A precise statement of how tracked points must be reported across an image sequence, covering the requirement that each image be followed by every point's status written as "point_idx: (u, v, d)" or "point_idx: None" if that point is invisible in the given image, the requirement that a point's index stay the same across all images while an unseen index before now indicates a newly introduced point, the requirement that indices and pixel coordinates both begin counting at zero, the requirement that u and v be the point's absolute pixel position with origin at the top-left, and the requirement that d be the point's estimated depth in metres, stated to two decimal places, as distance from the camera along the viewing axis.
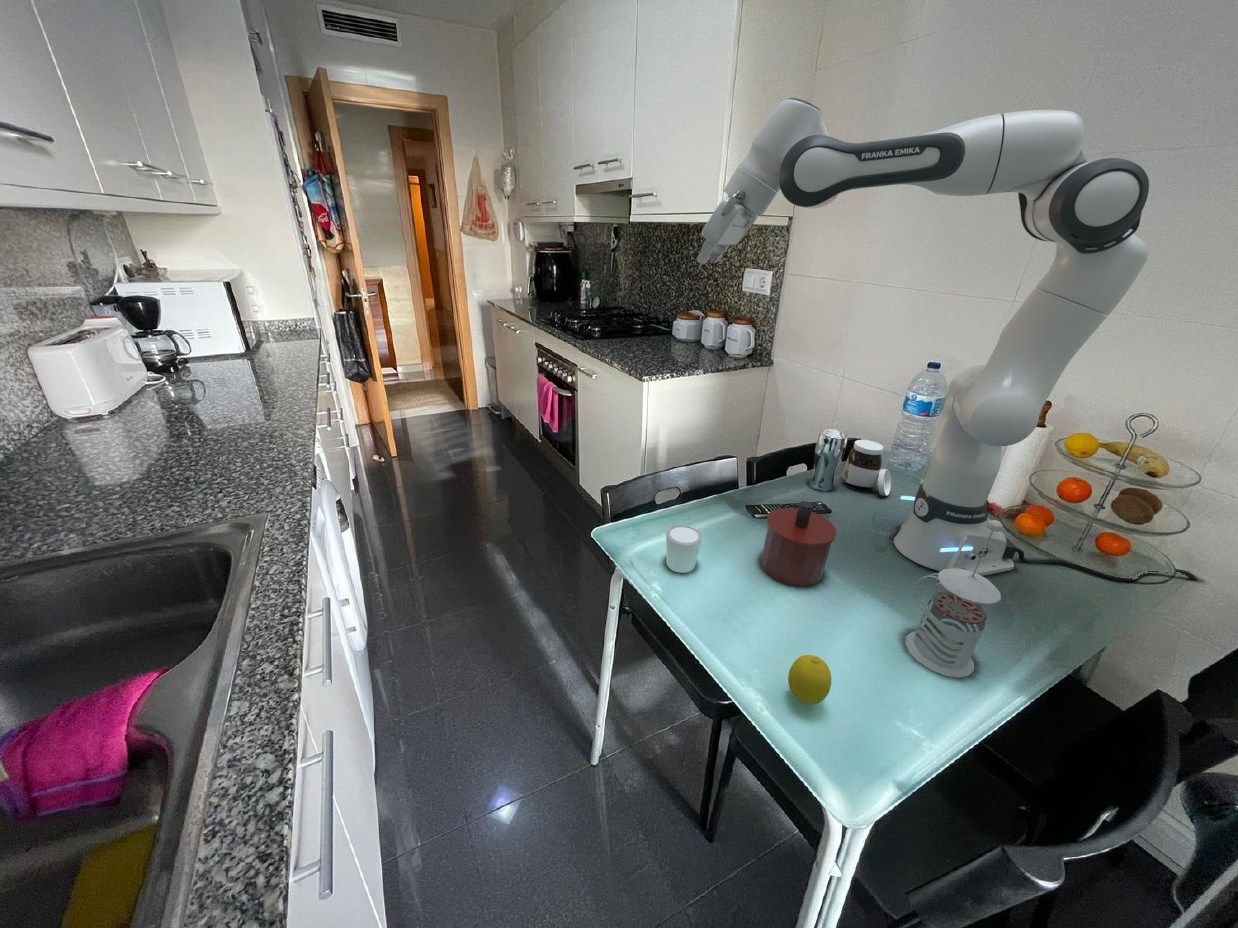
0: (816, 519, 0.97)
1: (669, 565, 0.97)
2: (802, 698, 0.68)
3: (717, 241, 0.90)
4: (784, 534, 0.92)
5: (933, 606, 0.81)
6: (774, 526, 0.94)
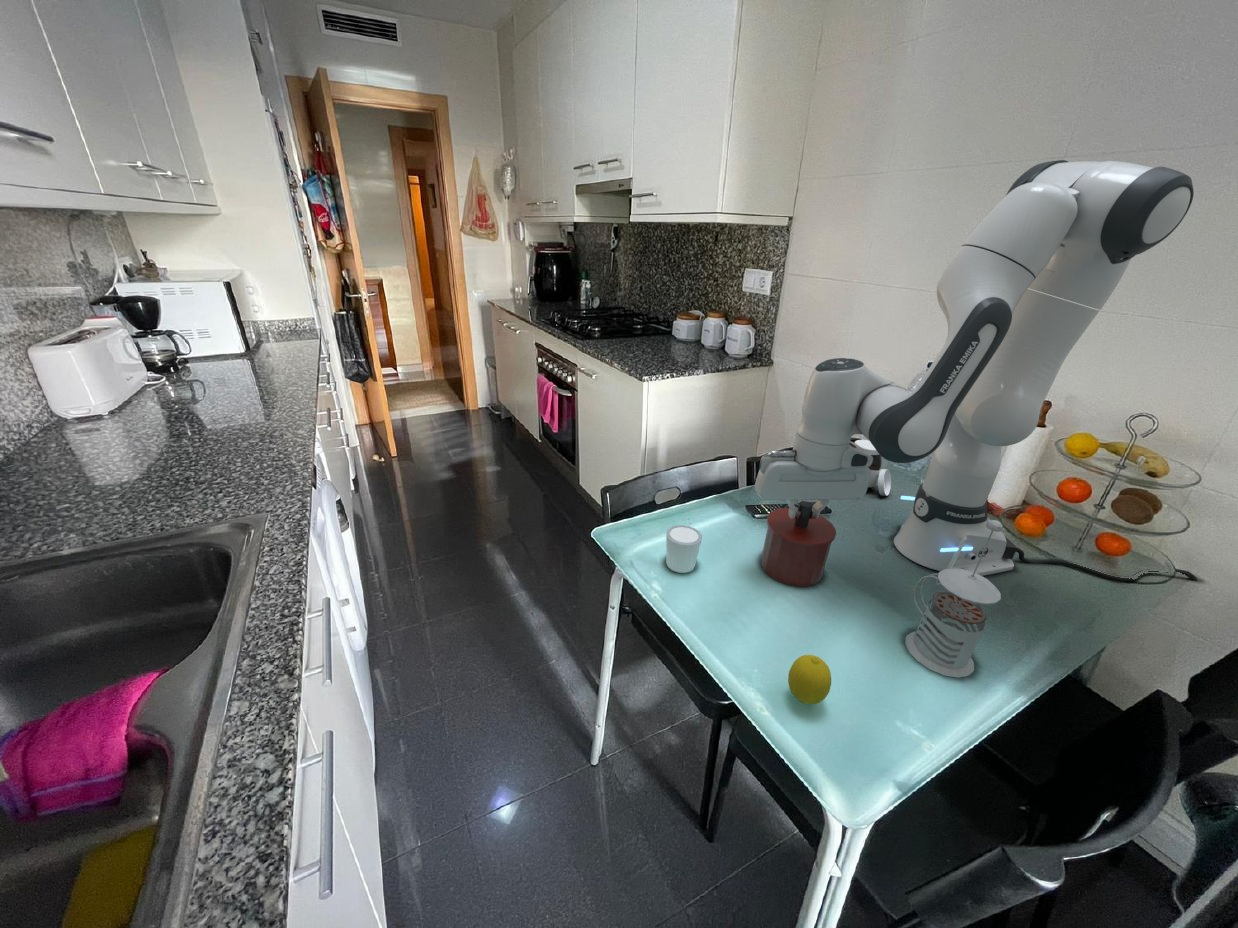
0: (816, 519, 0.97)
1: (669, 565, 0.97)
2: (802, 698, 0.68)
3: (763, 497, 0.89)
4: (784, 534, 0.92)
5: (933, 606, 0.81)
6: (774, 526, 0.94)
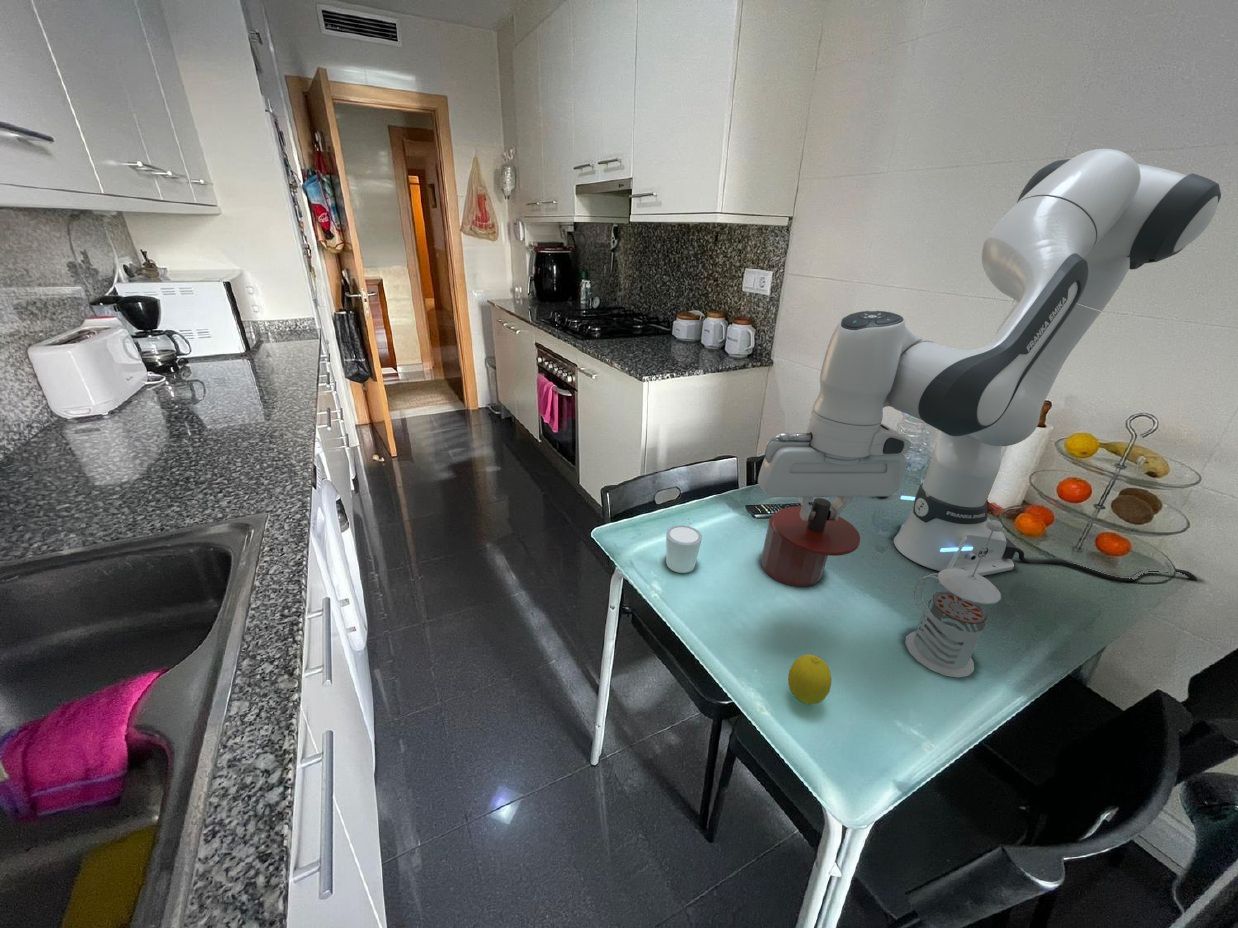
0: (834, 521, 0.78)
1: (669, 565, 0.97)
2: (802, 698, 0.68)
3: (768, 492, 0.70)
4: (795, 540, 0.72)
5: (933, 606, 0.81)
6: (782, 529, 0.75)
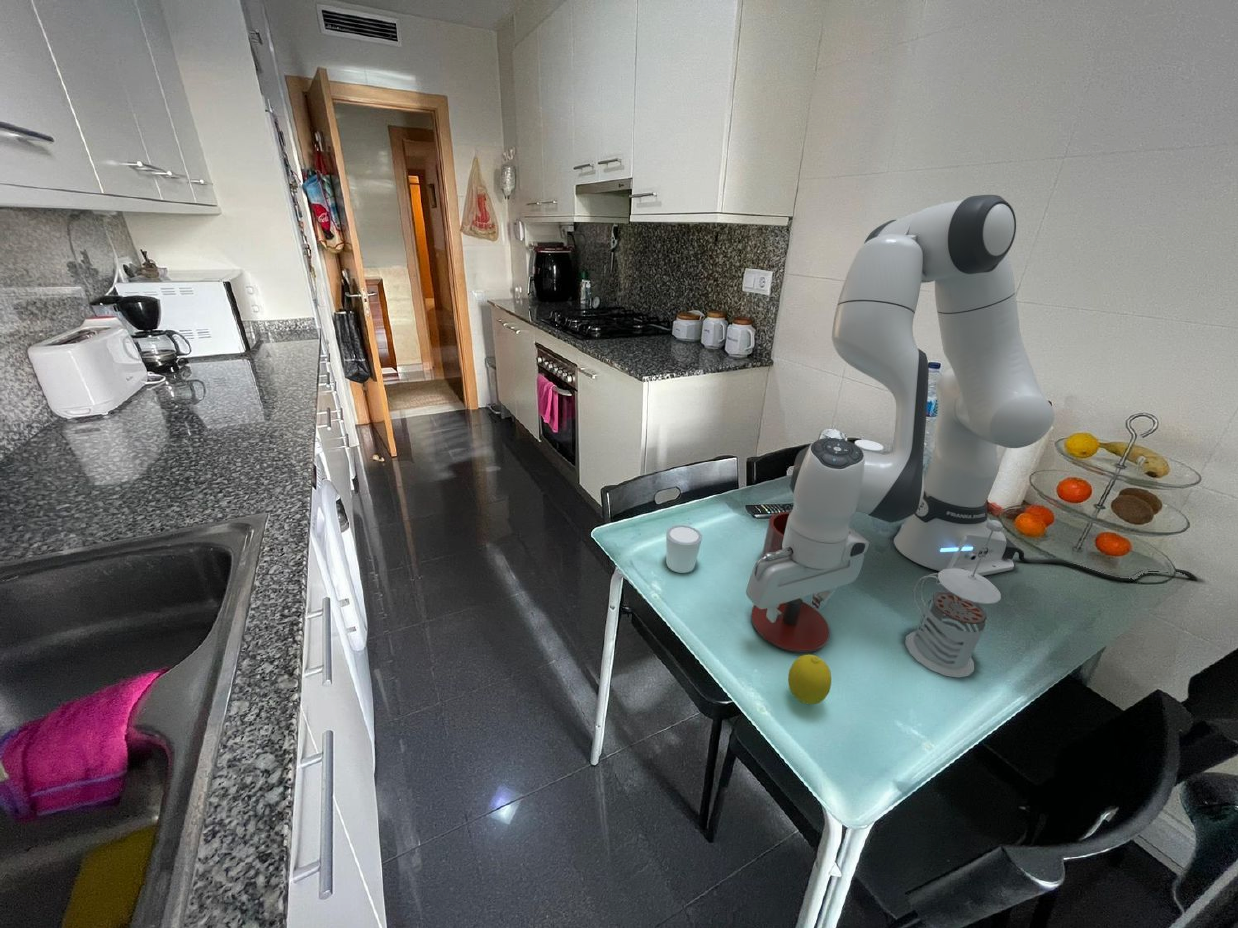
0: (801, 609, 0.87)
1: (669, 565, 0.97)
2: (802, 698, 0.68)
3: (760, 606, 0.75)
4: (780, 641, 0.80)
5: (933, 606, 0.81)
6: (765, 631, 0.81)
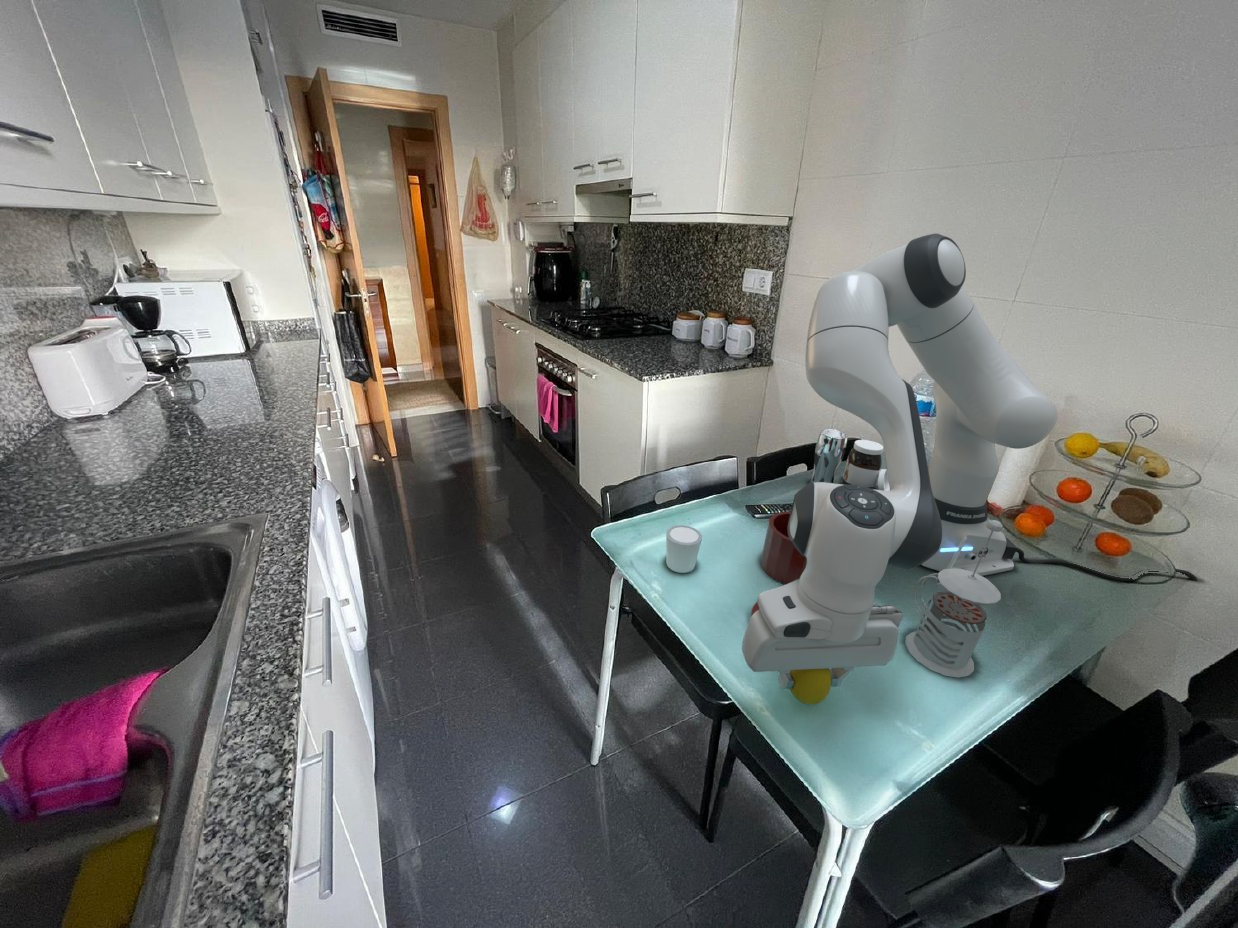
0: None
1: (669, 565, 0.97)
2: (802, 698, 0.68)
3: None
4: None
5: (933, 606, 0.81)
6: None
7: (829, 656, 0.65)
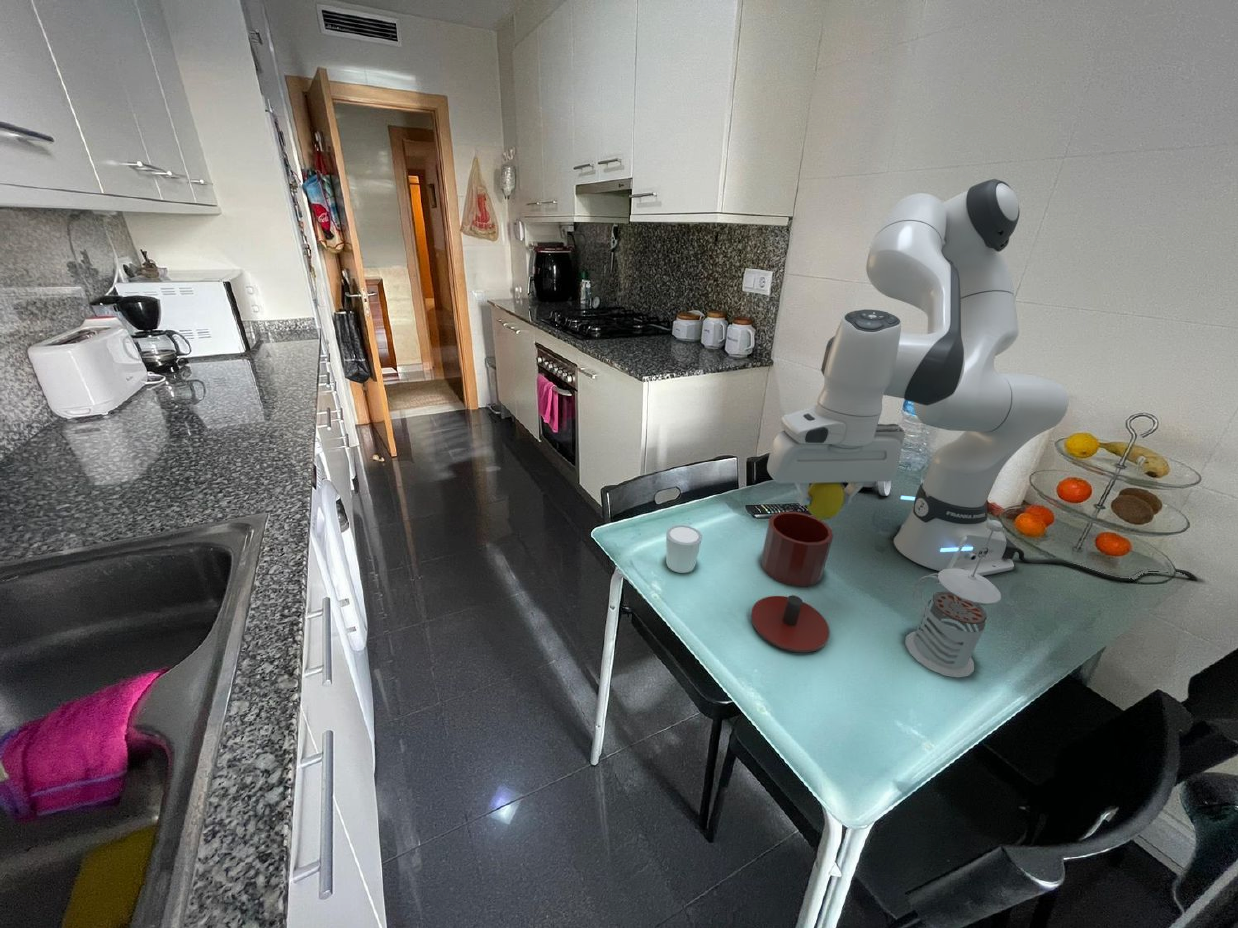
0: (801, 609, 0.87)
1: (669, 565, 0.97)
2: (819, 511, 0.79)
3: None
4: (780, 641, 0.80)
5: (933, 606, 0.81)
6: (765, 631, 0.81)
7: (842, 469, 0.76)
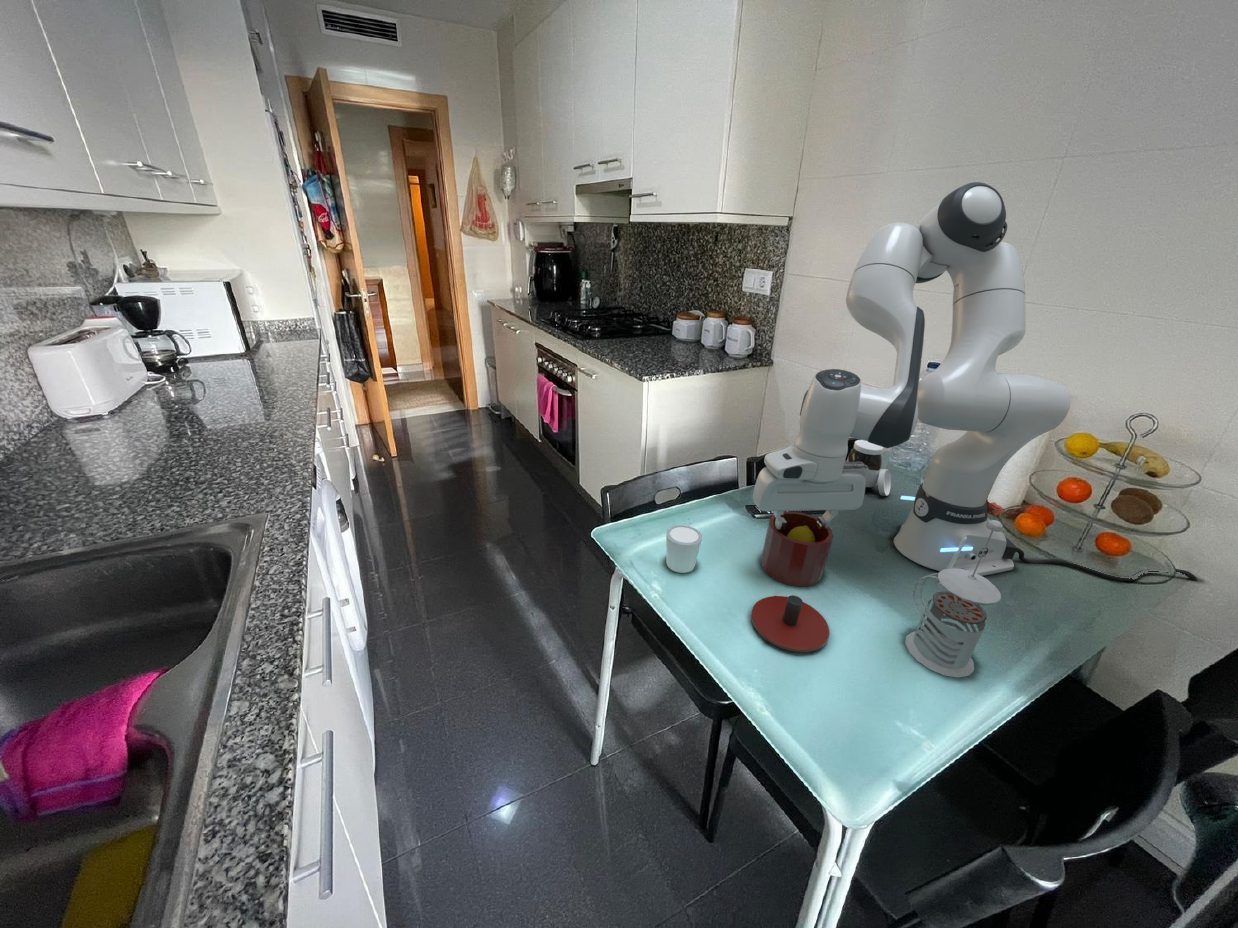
0: (801, 609, 0.87)
1: (669, 565, 0.97)
2: None
3: None
4: (780, 641, 0.80)
5: (933, 606, 0.81)
6: (765, 631, 0.81)
7: (816, 500, 0.91)
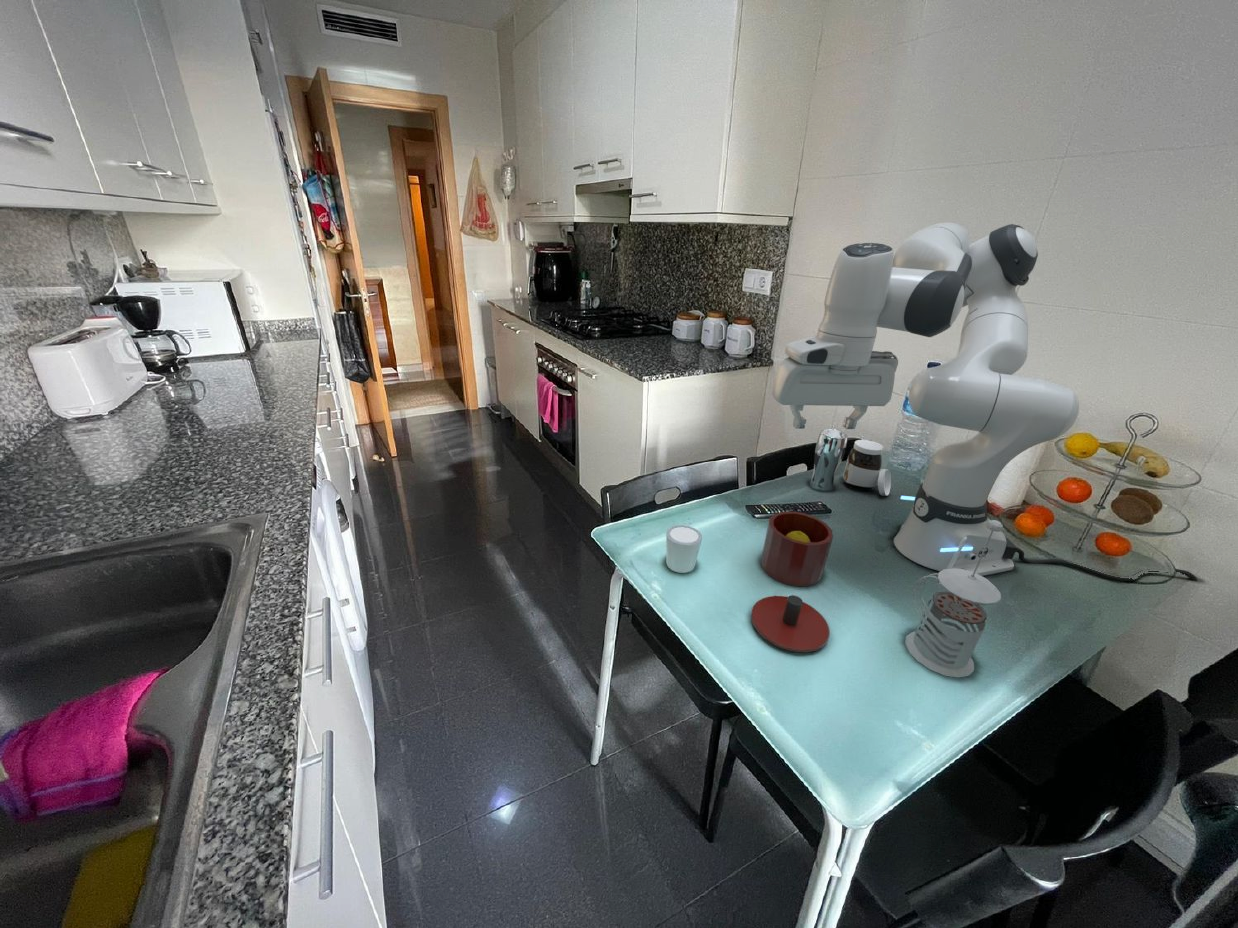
0: (801, 609, 0.87)
1: (669, 565, 0.97)
2: None
3: None
4: (780, 641, 0.80)
5: (933, 606, 0.81)
6: (765, 631, 0.81)
7: (841, 393, 0.84)
